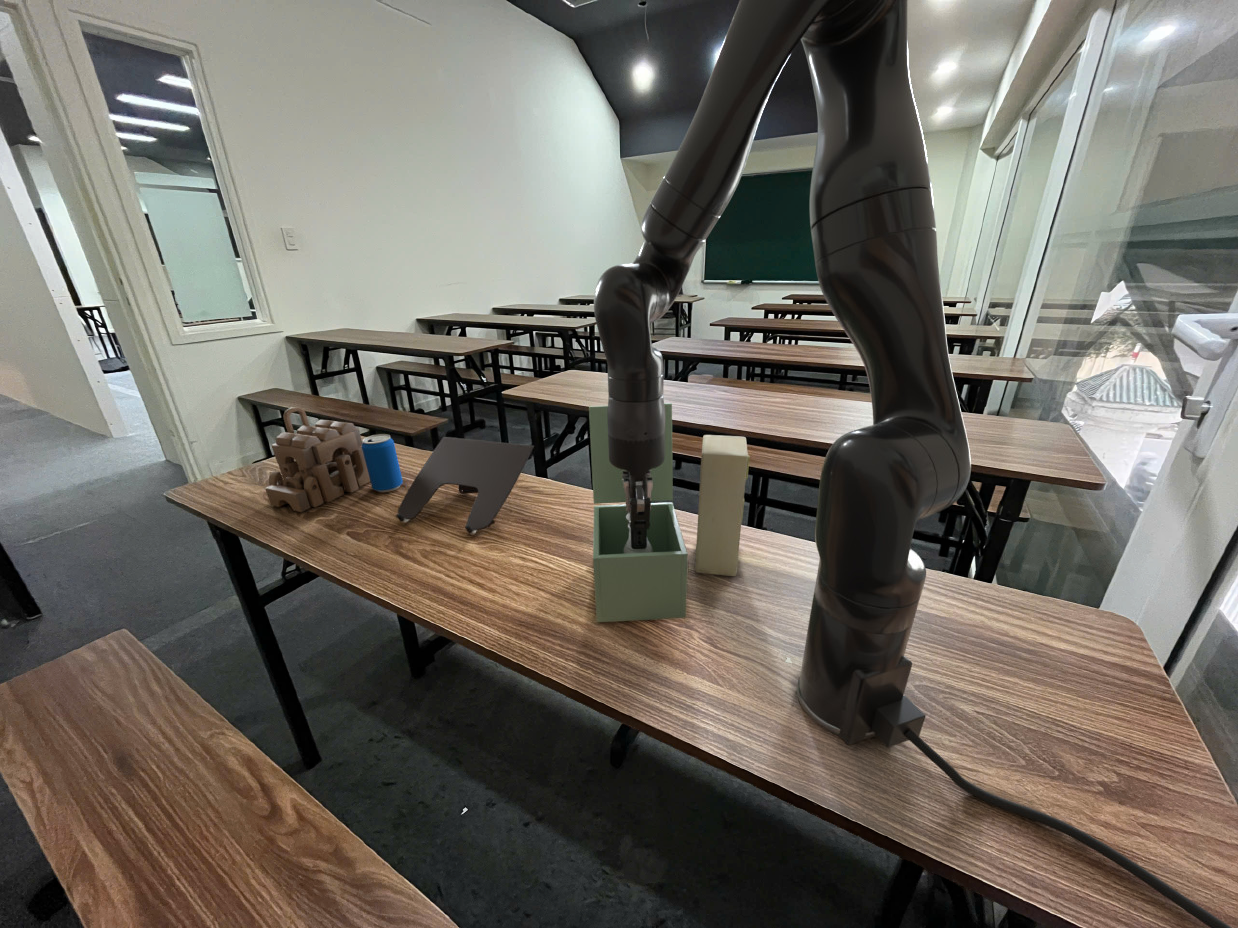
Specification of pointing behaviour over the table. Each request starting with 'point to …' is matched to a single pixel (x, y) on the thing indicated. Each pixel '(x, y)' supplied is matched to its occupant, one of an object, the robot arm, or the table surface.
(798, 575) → the table surface
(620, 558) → the chest
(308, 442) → the wooden puzzle
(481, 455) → the laptop tray
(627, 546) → the rook chess piece
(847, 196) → the robot arm
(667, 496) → the lid
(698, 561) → the toy refrigerator
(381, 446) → the beverage can
